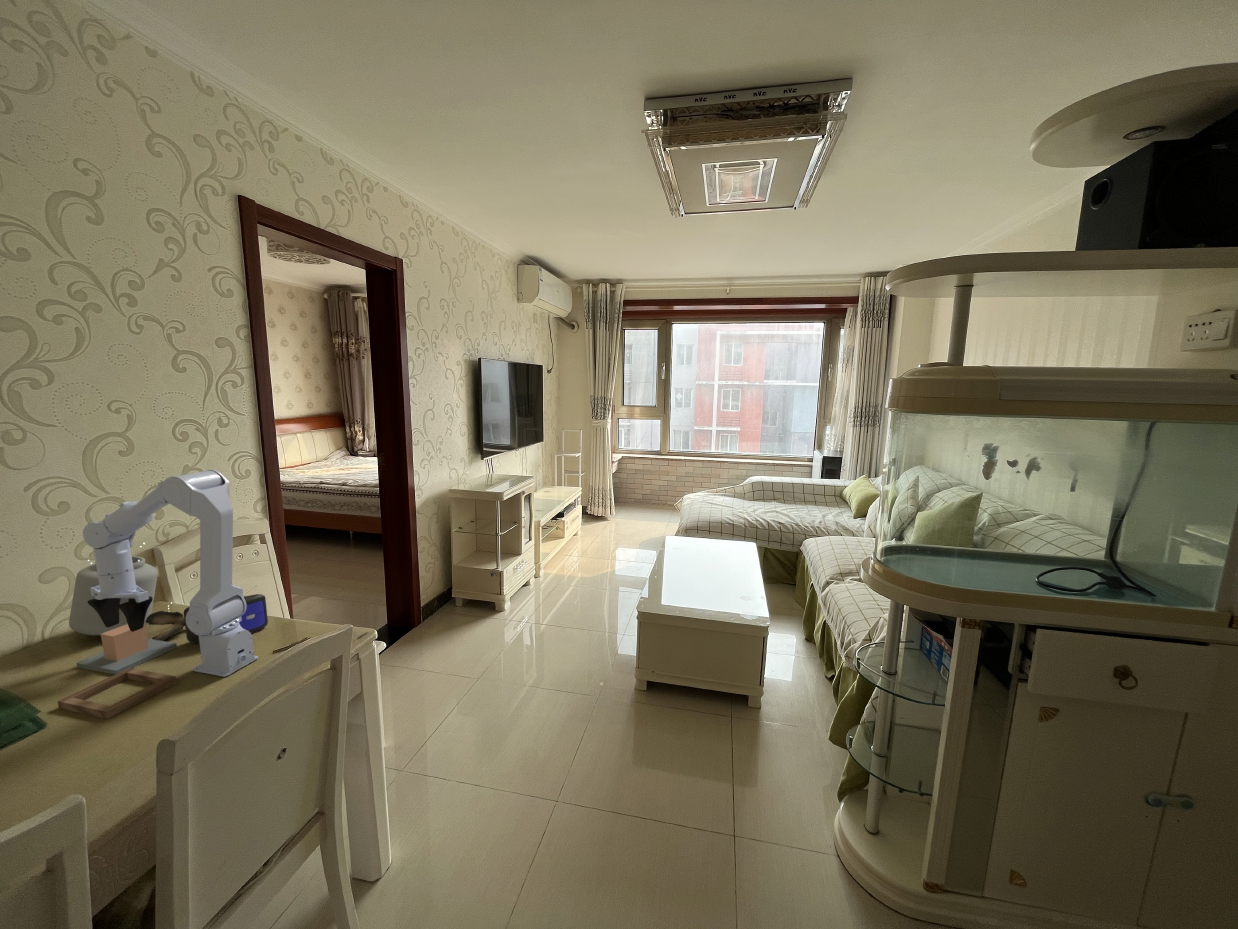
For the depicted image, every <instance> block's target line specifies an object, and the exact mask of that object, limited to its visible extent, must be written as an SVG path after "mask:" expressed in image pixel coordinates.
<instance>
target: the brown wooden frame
mask: <svg viewBox="0 0 1238 929" xmlns="http://www.w3.org/2000/svg"><path fill="white" fill-rule="evenodd" d="M127 680H131V681H136V682H137V681H138V682H142V683H147V684H151V685H149V686H147V687H145V688H143V689H140V690H139V691H137V692H135V693H133V694H130V695H129V696H127V697H125V698H123V699H121V700H119V701H117V702H114V703H113V704H111V705H110V704H109V705H108V704H104V703H99V702H96V701H95V702H94V701H91V700H88V699H89V698H91V697H94V696H95V695H98V694H99V693H101V692H103V691H106V690H108V689H110V688H113V687H114V686H117V685H119V684H120V683H122V682H125V681H127ZM175 683H176V684H177V683H178V681H177V677H176V676H175V675H170V674H166V673H160V672H154V671H149V670H144V669H143V670H142V669H138V668H135V667H133V668H128V669H126V670H124V671H122V672H120V673H117V674H112V675H111V676H109V677H107V678H104V679H103V680H101V681H97V682H96V683H94V684H92V685H90V686H87V687H86V688H83V689H80V690H79V691H78V690H77V692H74V693H72V694H70V695H68V696H66V697H63V698H61V699H59V700H57V705H58V709H61V710H65V711H71V712H75V713H79V714H84V715H88V716H91V717H92V716H93V717H97V718H100V717H101V718H100V719H105V718H107V719H106V720H109V719H111V718H113V717H115V716H117V715H119V714H120V712H121V713H122V712H124V711H126V710H128V709H130V708H132V707H134V706H136V705H137V704H139V703H141V702H143V701H145V700H147V699H149V698H152V697H153V696H154V695H157V694H159V693H160V692H162V691H164V690H167V689H168V688H170V687H172V686H173V685H176V684H175ZM118 713H119V714H118ZM116 714H117V715H116ZM114 715H115V716H114ZM102 717H103V718H102ZM110 717H111V718H110ZM108 718H109V719H108Z"/></svg>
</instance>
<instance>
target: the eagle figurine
mask: <svg viewBox="0 0 1238 929" xmlns="http://www.w3.org/2000/svg"><path fill="white" fill-rule="evenodd" d="M146 619H147V620H145V622H146V624H148V625H150V626H165V625H171V626H169V627H168V628H166V629H164V630H162V631H160V632H159V633H158V634H157V635H155V636H153V637H152V638H151V639H154V640H160V641H165V640H167V638H169V637H171V636H172V635H175V634H177V633H181V631H183V629H184V627H185V620H184V613H182V612H180V611H170V612H169V611H164V610H159V611H156V612H152V613H151V614H150V615H149V616H148V617H147V618H146Z"/></svg>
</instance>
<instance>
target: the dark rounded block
mask: <svg viewBox="0 0 1238 929" xmlns="http://www.w3.org/2000/svg"><path fill="white" fill-rule="evenodd" d="M243 596H244V595H243ZM244 599H245V601H246V605H247V608H246V611H245V613H244V614H243V615H242V616H241V618H242V621H240V622H239V624H240V626H241V627H242V628H243V629H245V630H247V631H249V632H250V633H251V634H253V633H257V632H259V631H260V630H263V629H264V628H266V626H267V625H268V624H269V620H268V610H267V601H266V600H267V599H266V596H265V595H264V594H262V593H261V594H260V593H257V594H251V595H246V596H244ZM189 608H190V606H188V607H185V609H184V610H183V617H184V620H185V626H184V627H185V634H186V640H187V642H188V643H189V642H190V643H191V644H200V643H199V635H195V633H193V632H192V631H191V630H190V629H189V628H188V627H187V624H186V615H187V613H188V611H189ZM256 631H257V632H256Z"/></svg>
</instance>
